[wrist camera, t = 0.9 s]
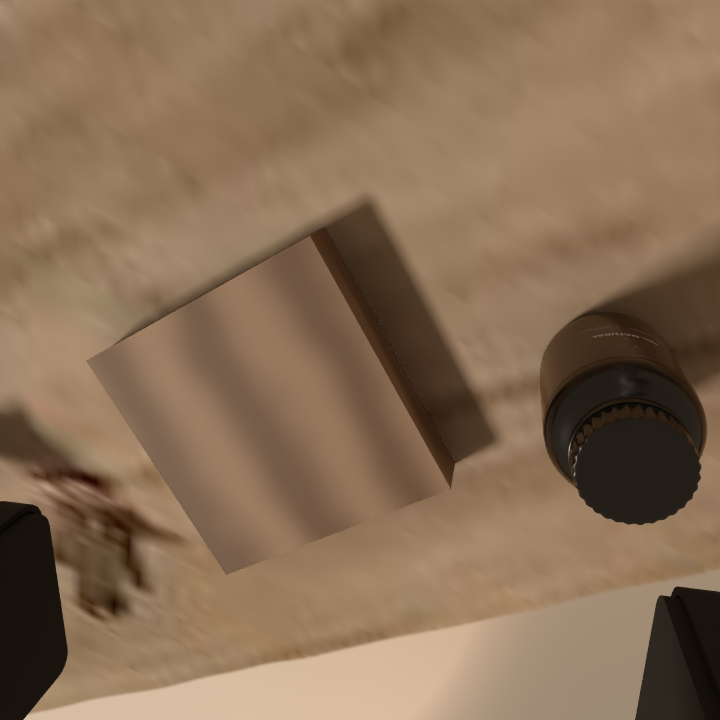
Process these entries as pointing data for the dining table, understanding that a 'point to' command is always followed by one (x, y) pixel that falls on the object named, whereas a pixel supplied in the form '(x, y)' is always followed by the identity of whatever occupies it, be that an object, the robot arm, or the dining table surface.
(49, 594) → the robot arm
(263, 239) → the dining table surface
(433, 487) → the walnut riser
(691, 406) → the supplement bottle
